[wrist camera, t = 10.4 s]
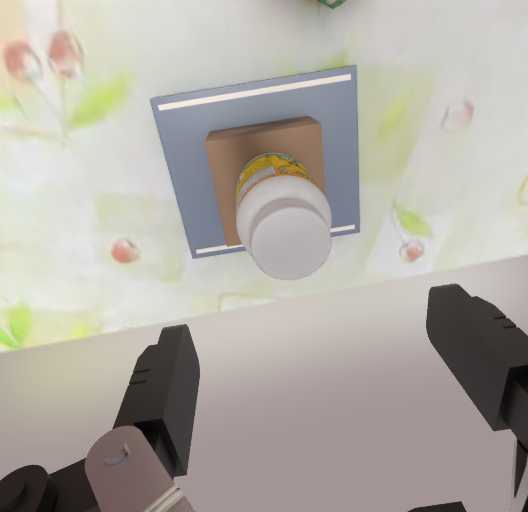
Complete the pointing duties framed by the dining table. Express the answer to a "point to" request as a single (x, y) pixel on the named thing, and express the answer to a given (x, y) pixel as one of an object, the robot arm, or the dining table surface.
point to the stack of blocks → (332, 2)
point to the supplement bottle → (282, 217)
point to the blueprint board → (254, 112)
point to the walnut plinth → (253, 145)
